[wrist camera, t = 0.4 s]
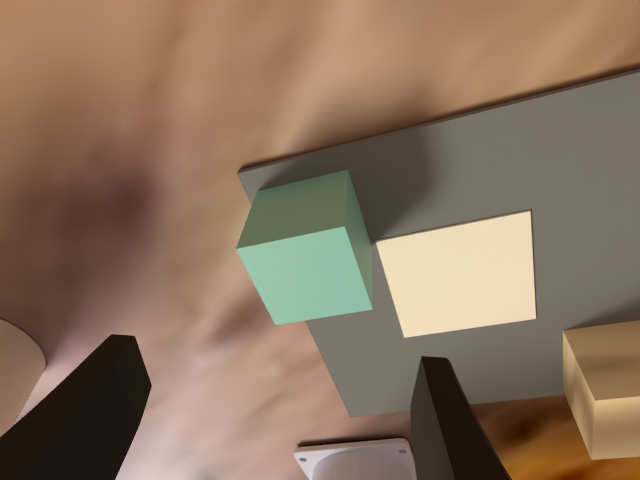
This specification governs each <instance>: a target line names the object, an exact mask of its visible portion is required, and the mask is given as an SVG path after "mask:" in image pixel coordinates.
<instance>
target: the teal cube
mask: <svg viewBox="0 0 640 480" xmlns="http://www.w3.org/2000/svg"><path fill="white" fill-rule="evenodd" d="M236 250H237V252H238V254H239V256H240V258H241V260H242V262H243V264H244V266H245V268H246V269H247V271H248V273H249V275H250V277H251V279H252V281H253V283H254V285H255V287H256V289H257V291H258V292H259V294H260V296H261V298H262V300H263V302H264V304H265V306H266V308H267V310H268V312H269V313H270V315H271V317H272V319H273V321H274V323H275V325H280V324H286V323H292V322H298V321H304V320H311V319H317V318H323V317H329V316H335V315H342V314H348V313H354V312H360V311H367V310H373V298H372V246H371V243H370V239H369V236H368V233H367V229H366V226H365V223H364V220H363V216H362V213H361V210H360V207H359V203H358V200H357V197H356V193H355V190H354V187H353V184H352V180H351V177H350V174H349V171H348V170H344V171H340V172H335V173H331V174H327V175H323V176H319V177H315V178H310V179H306V180H302V181H298V182H294V183H289V184H285V185H281V186H277V187H273V188H269V189H264V190H260V191H257V193H256V196H255V198H254V201H253V204H252V207H251V209H250V212H249V215H248V217H247V220H246V223H245V226H244V228H243V231H242V234H241V237H240V239H239V242H238V245H237V247H236Z"/></svg>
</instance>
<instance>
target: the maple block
mask: <svg viewBox="0 0 640 480" xmlns="http://www.w3.org/2000/svg"><path fill="white" fill-rule="evenodd" d="M563 391H564V393H565V396H566V398H567V401H568V403H569V406H570V408H571V411H572V413H573V416H574V418H575V421H576V423H577V426H578V428H579V431H580V433H581V436H582V438H583V440H584V443H585V445H586V448H587V450H588V453H589V455H590V458H591V460H596V459H610V458H624V457H638V456H640V320H637V321H630V322H622V323H615V324H607V325H600V326H593V327H585V328H578V329H571V330H563Z"/></svg>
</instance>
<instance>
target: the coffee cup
mask: <svg viewBox="0 0 640 480" xmlns="http://www.w3.org/2000/svg"><path fill="white" fill-rule="evenodd" d="M45 364H46V362H45V357H44V354H43V352H42V350H41V349H40V347H39V346H38V345H37V344H36V342H35V341H34V340H33V339H32V338H31V337H29V336H28V335H27V334H26V333H24V332H23V331H22V330H20V329H19V328H17V327H15V326H14V325H12V324H10V323H8V322H6V321H4V320H2V319H0V437H1V436H2V435H3V434H4V433H6V432H7V431H8V430H9V429H10V428H11V427H12V426H13V425H14V423H15V421H16V419H17V418H18V416H19V414H20V412H21V410H22V409H23V407H24V405H25V403H26V401H27V400H28V398H29V396H30V394H31V392H32V391H33V389H34V387H35V385H36V384H37V382H38V380H39V378H40V376H41V375H42V373H43V371H44V369H45Z"/></svg>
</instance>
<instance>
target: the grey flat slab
mask: <svg viewBox="0 0 640 480" xmlns="http://www.w3.org/2000/svg"><path fill="white" fill-rule="evenodd" d="M344 170H348V171H349V174H350V177H351V180H352V184H353V187H354V190H355V193H356V197H357V200H358V203H359V207H360V210H361V213H362V216H363V220H364V223H365V226H366V229H367V233H368V236H369V239H370V243H371V246H372V298H373V310H367V311H360V312H354V313H348V314H342V315H335V316H329V317H323V318H317V319H311V320H305V321H306V323H307V325H308V327H309V330H310V332H311V334H312V336H313V338H314V340H315V342H316V345H317V347H318V349H319V351H320V353H321V355H322V357H323V360H324V362H325V364H326V366H327V368H328V370H329V373H330V375H331V377H332V379H333V381H334V383H335V385H336V388H337V390H338V392H339V394H340V396H341V398H342V400H343V403H344V405H345V407H346V409H347V411H348V413H349V416H350V417H358V416H368V415H378V414H387V413H397V412H406V411H411V407H410V405H411V400H412V396H413V391H414V387H415V382H416V378H417V373H418V369H419V364H420V359H421V356H429V357H444V358H447V359H448V360H449V361H450V362H451V365H452V367H453V369H454V372H455V374H456V376H457V379H458V381H459V383H460V385H461V388H462V390H463V392H464V394H465V396H466V398H467V400H468V402H469V404H470V405H473V404H483V403H493V402H502V401H512V400H521V399H531V398H540V397H550V396H560V395H565V393H564V391H563V330H571V329H578V328H585V327H593V326H600V325H607V324H615V323H622V322H630V321H637V320H640V68H639V69H635V70H631V71H628V72H624V73H620V74H616V75H612V76H608V77H604V78H600V79H596V80H592V81H588V82H584V83H580V84H576V85H572V86H568V87H565V88H561V89H557V90H553V91H549V92H545V93H541V94H537V95H533V96H529V97H525V98H521V99H517V100H513V101H509V102H505V103H502V104H498V105H494V106H490V107H486V108H482V109H478V110H474V111H470V112H466V113H462V114H458V115H454V116H450V117H446V118H443V119H439V120H435V121H431V122H427V123H423V124H419V125H415V126H411V127H407V128H403V129H399V130H395V131H391V132H387V133H383V134H380V135H376V136H372V137H368V138H364V139H360V140H356V141H352V142H348V143H344V144H340V145H336V146H332V147H328V148H324V149H320V150H317V151H313V152H309V153H305V154H301V155H297V156H293V157H289V158H285V159H281V160H277V161H273V162H269V163H265V164H261V165H258V166H254V167H250V168H246V169H242V170H239V171H238V173H237V175H238V177H239V179H240V181H241V183H242V185H243V188H244V190H245V192H246V194H247V196H248V198H249V200H250V203H251V205H252V204H253V201H254V198H255V196H256V193H257V191H260V190H264V189H269V188H273V187H277V186H281V185H285V184H289V183H294V182H298V181H302V180H306V179H310V178H315V177H319V176H323V175H327V174H331V173H335V172H340V171H344Z"/></svg>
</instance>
